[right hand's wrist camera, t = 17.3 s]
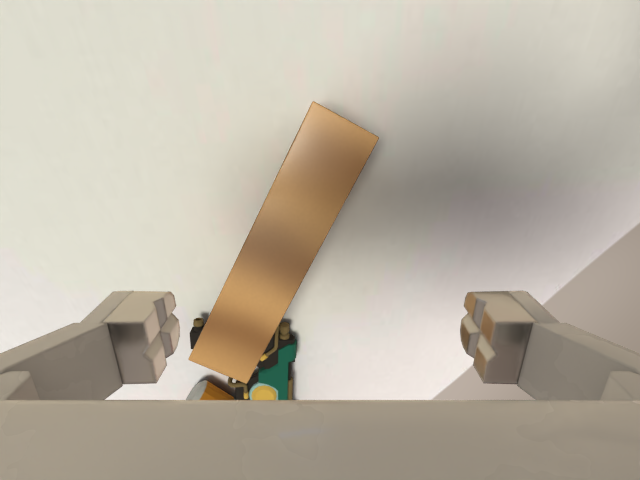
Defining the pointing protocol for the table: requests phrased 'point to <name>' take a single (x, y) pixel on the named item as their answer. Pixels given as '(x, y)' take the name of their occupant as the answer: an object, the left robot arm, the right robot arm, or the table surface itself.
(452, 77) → the table surface
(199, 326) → the spray gun
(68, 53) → the table surface
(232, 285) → the bar
